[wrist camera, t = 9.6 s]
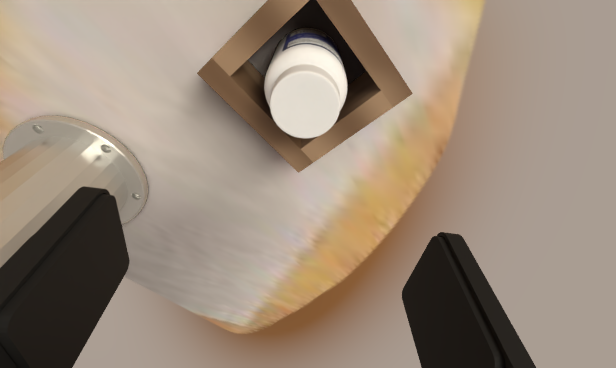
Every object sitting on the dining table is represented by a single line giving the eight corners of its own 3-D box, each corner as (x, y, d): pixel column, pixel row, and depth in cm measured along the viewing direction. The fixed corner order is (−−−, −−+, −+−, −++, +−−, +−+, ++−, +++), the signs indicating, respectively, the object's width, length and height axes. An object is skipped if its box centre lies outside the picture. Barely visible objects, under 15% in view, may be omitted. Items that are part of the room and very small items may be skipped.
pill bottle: (311, 108, 27) (310, 164, 20) (260, 67, 25) (238, 114, 18) (355, 58, 25) (371, 102, 17) (302, 9, 23) (296, 35, 15)
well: (300, 141, 29) (298, 172, 25) (216, 53, 24) (196, 73, 20) (397, 70, 25) (412, 93, 21) (317, -51, 21) (317, -51, 17)
